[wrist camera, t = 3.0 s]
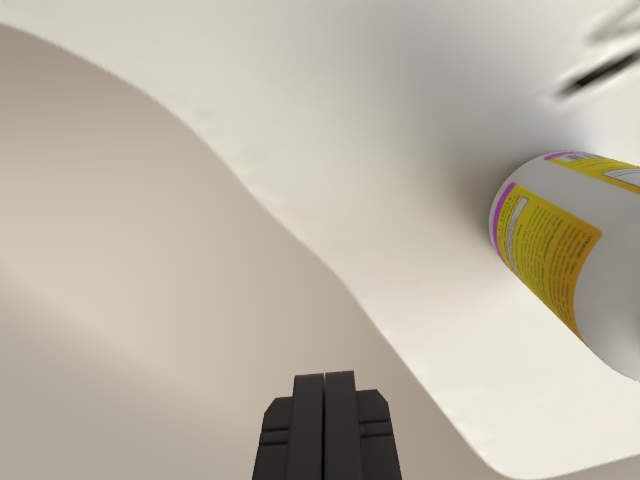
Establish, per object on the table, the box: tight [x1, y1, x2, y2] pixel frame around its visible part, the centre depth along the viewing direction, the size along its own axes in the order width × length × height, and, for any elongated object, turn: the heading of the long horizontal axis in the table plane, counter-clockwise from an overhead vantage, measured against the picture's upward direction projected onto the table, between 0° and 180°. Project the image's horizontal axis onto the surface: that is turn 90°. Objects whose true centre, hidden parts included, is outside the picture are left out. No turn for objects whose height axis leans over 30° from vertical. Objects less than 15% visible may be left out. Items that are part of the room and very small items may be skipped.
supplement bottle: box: [489, 151, 640, 382], centre depth 17 cm, size 7×7×13 cm
